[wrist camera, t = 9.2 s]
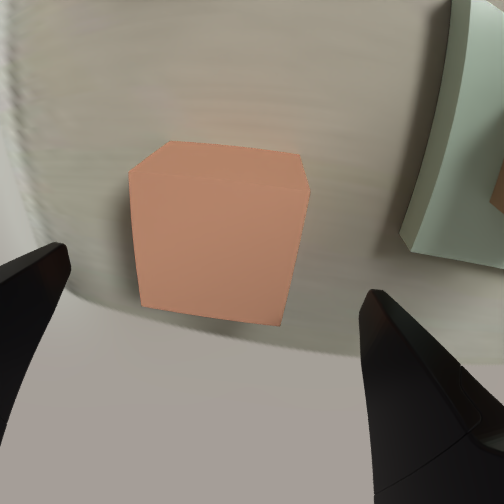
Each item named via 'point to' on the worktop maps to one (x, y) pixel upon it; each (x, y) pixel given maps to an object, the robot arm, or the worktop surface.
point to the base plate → (464, 146)
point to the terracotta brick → (217, 229)
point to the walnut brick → (499, 191)
